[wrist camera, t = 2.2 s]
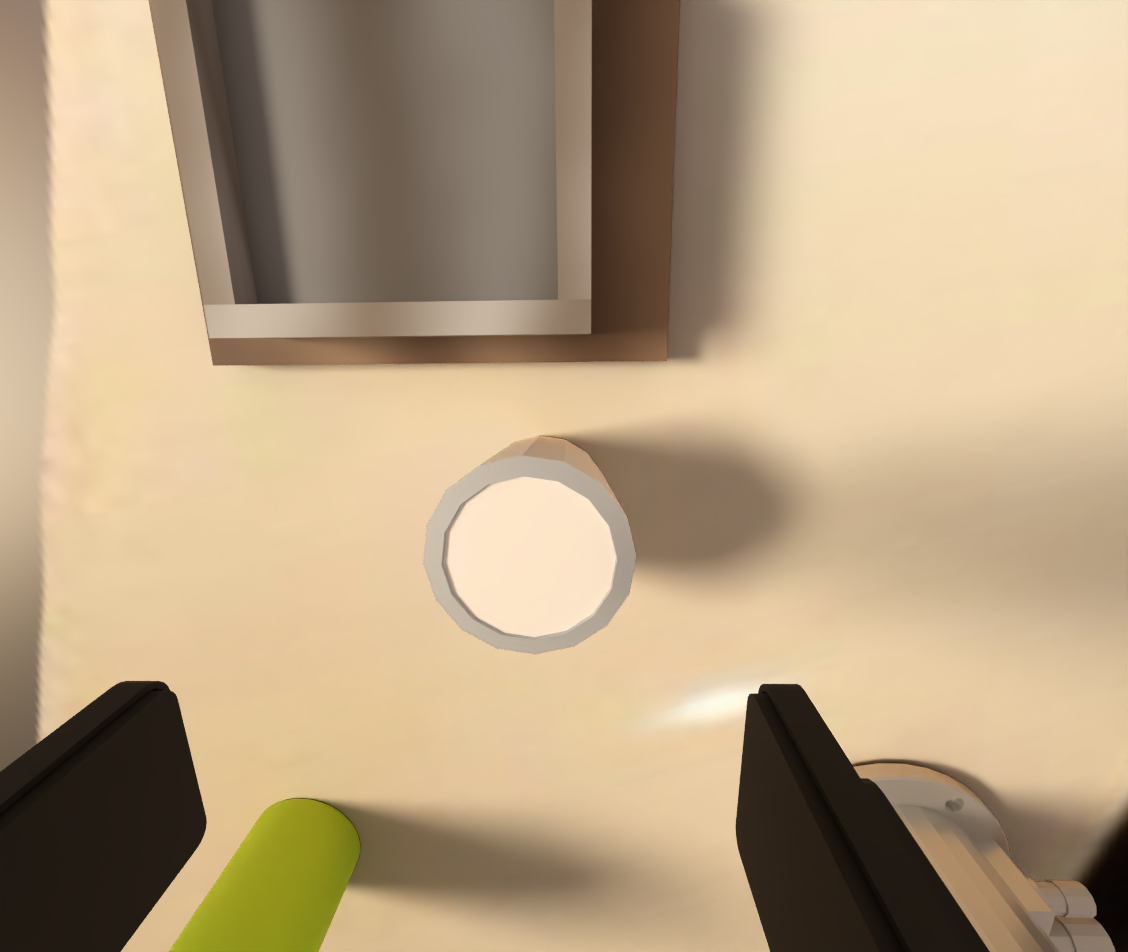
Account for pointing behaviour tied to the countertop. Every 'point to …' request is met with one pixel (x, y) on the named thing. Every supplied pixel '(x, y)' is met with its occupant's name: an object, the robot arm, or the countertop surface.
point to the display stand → (426, 176)
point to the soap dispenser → (278, 884)
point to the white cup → (531, 548)
